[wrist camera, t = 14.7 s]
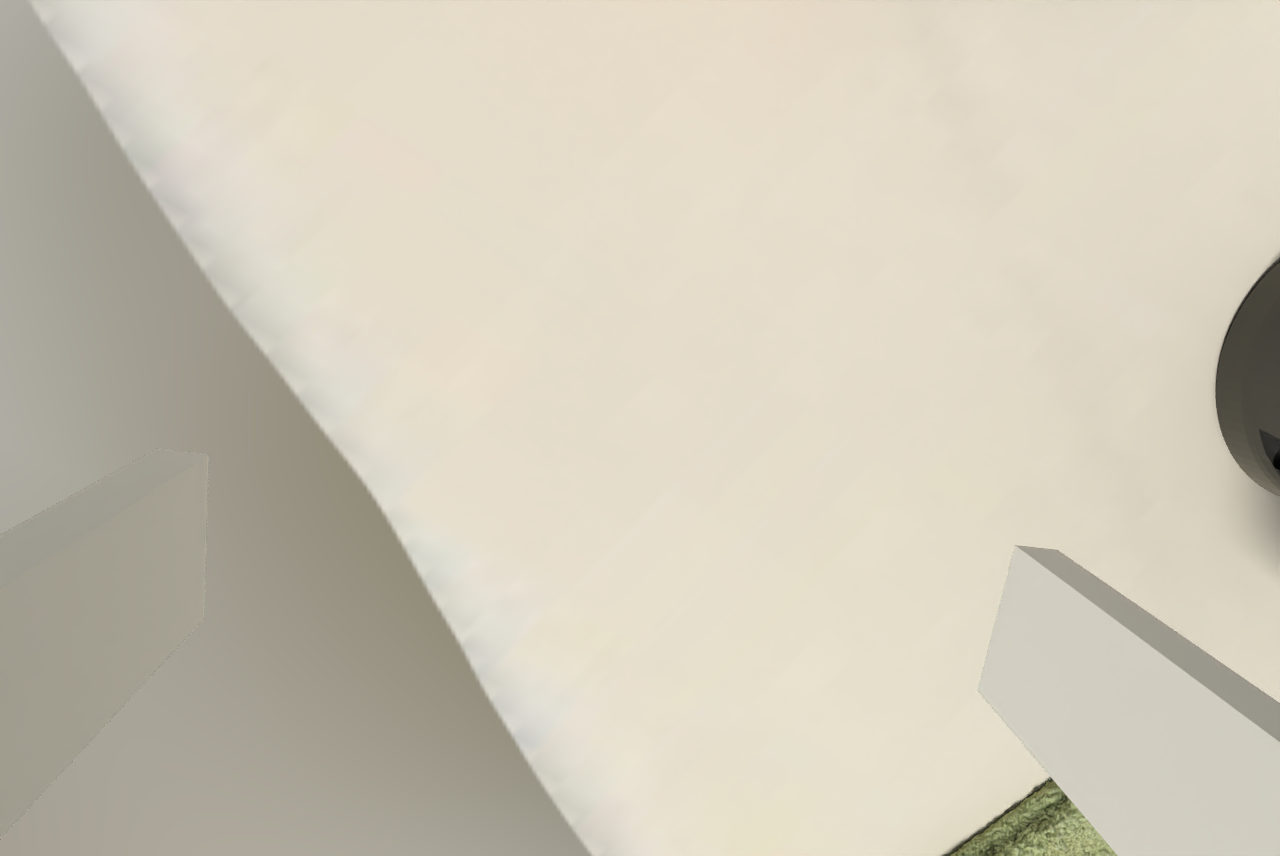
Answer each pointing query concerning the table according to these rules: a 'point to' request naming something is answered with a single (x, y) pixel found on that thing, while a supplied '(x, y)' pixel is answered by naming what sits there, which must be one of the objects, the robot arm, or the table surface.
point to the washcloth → (1040, 830)
